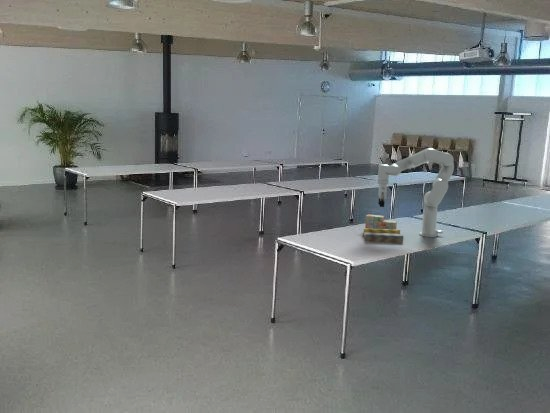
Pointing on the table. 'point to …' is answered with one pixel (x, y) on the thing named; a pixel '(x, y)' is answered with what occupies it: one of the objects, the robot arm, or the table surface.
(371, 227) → the stack of blocks
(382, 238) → the dock
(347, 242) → the table surface
